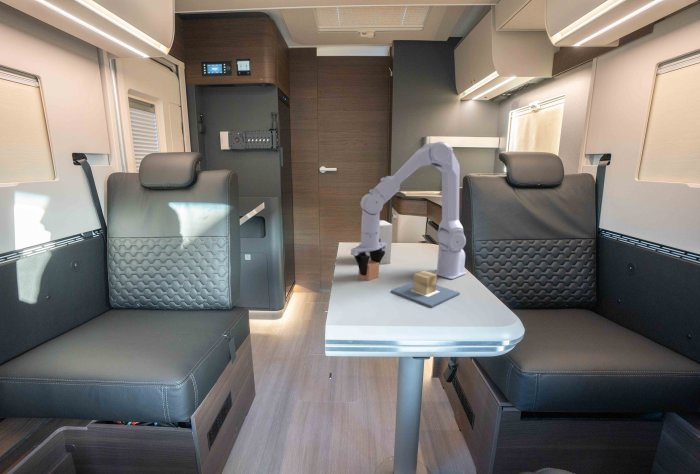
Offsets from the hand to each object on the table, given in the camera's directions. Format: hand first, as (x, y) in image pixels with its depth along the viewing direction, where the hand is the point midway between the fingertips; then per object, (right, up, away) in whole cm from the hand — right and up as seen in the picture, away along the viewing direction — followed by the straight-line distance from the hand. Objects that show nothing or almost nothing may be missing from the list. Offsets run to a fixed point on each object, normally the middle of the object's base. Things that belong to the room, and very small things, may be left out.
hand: (368, 273), depth 110 cm
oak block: (+15, -4, -12) cm, 20 cm away
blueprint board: (+16, -5, -12) cm, 20 cm away
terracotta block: (0, -1, 0) cm, 1 cm away
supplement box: (+4, +2, +18) cm, 19 cm away
